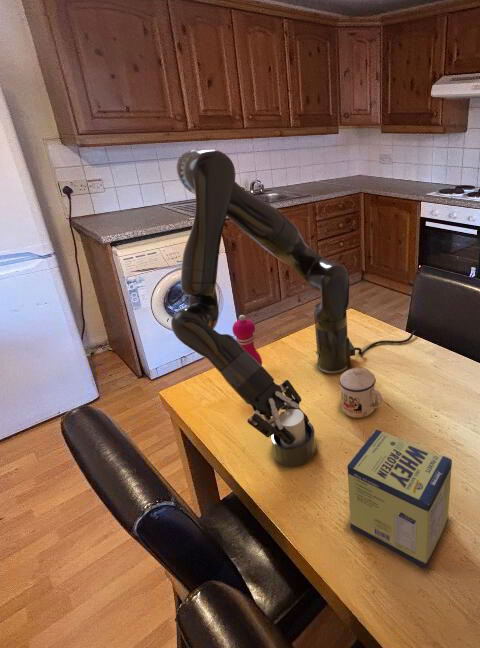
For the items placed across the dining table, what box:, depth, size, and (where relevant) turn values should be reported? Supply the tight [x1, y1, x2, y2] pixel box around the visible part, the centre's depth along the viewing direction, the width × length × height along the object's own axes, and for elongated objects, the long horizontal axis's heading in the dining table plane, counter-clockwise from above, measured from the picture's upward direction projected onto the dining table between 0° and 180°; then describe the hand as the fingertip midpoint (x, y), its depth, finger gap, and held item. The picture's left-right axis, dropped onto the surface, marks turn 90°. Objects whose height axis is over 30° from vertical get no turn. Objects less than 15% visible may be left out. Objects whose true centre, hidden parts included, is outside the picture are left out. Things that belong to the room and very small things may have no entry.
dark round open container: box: [270, 421, 317, 468], centre depth 93 cm, size 9×9×5 cm
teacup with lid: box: [338, 367, 384, 419], centre depth 104 cm, size 12×9×12 cm
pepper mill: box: [232, 314, 263, 367], centre depth 117 cm, size 7×7×20 cm
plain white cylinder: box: [279, 409, 306, 448], centre depth 92 cm, size 6×6×8 cm
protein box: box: [346, 429, 453, 570], centre depth 74 cm, size 10×16×16 cm
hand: (299, 432), depth 91 cm, fingers closed on plain white cylinder, 5 cm apart
